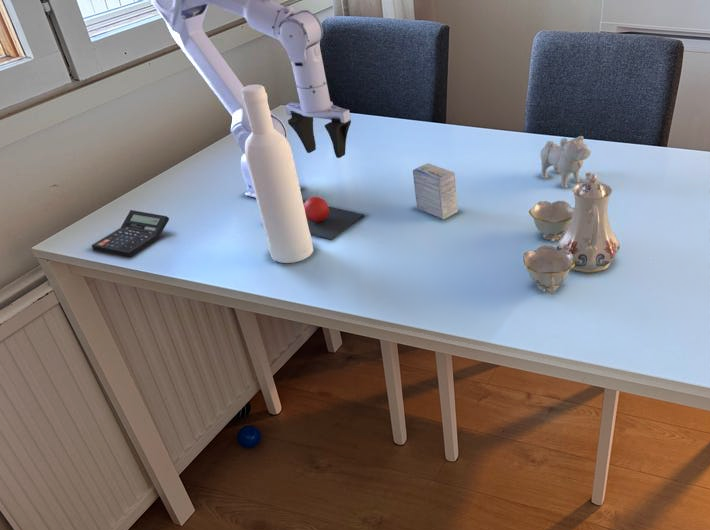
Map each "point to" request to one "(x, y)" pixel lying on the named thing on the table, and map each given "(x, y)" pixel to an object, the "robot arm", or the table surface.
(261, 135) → the bottle
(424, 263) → the table surface
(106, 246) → the calculator
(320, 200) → the ball
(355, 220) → the mat
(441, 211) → the grey streaked block
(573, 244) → the chinaware
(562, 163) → the dog figurine
